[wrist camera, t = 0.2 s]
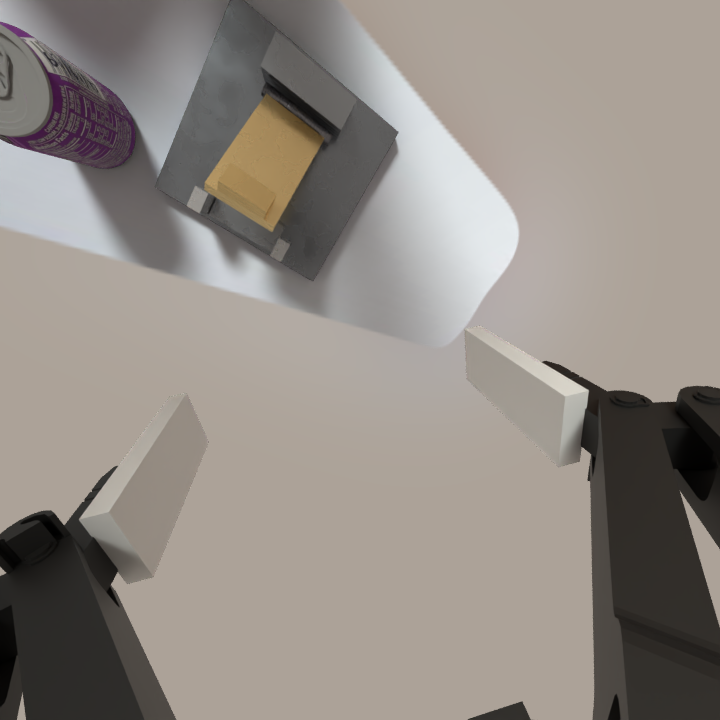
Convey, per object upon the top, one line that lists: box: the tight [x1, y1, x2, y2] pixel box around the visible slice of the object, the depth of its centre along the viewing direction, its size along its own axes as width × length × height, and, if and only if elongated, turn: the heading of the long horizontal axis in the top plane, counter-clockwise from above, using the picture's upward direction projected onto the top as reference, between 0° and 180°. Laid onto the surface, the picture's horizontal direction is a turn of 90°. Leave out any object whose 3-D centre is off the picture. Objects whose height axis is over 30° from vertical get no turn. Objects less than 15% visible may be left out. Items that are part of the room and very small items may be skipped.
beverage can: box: [0, 22, 135, 168], centre depth 26 cm, size 7×7×12 cm
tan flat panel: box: [204, 82, 333, 232], centre depth 29 cm, size 7×13×2 cm
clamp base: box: [155, 0, 398, 281], centre depth 33 cm, size 18×18×6 cm
